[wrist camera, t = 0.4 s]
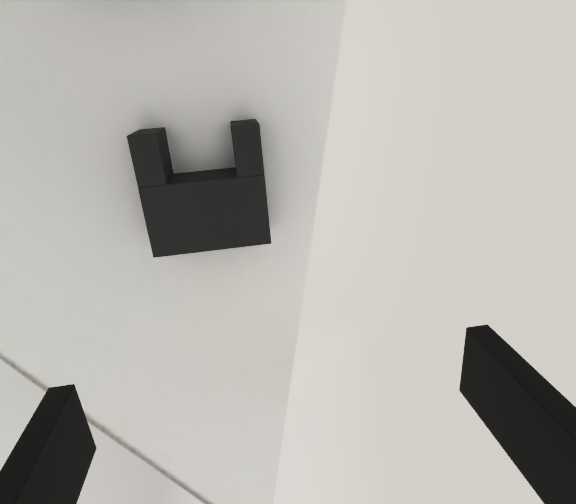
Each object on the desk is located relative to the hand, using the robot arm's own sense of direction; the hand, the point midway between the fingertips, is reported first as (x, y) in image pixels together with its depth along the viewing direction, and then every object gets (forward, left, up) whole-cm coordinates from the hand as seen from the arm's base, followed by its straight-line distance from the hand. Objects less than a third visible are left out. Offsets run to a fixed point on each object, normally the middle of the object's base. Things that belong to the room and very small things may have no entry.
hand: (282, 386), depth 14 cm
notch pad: (-2, -4, -27) cm, 27 cm away
